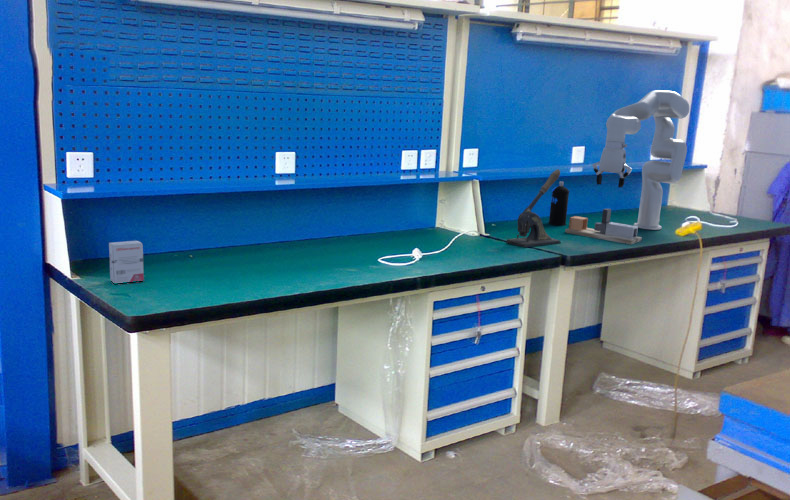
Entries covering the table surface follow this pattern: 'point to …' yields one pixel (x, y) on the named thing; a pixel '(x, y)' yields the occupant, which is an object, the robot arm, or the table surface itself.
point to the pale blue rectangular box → (621, 230)
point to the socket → (578, 223)
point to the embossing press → (534, 221)
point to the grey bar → (604, 221)
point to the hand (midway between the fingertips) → (609, 185)
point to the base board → (602, 236)
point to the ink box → (126, 261)
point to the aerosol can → (559, 205)
